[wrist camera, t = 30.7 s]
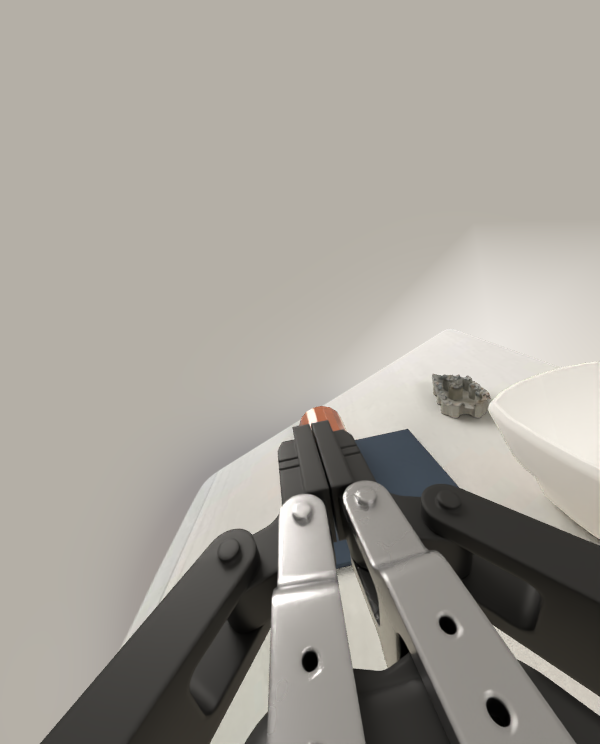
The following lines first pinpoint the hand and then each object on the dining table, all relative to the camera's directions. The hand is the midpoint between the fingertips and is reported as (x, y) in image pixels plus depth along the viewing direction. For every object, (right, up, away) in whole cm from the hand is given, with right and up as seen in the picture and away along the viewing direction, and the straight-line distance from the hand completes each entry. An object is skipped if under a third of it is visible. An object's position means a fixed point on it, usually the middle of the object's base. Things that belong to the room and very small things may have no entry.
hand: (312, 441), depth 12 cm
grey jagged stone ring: (+28, -3, +39) cm, 48 cm away
